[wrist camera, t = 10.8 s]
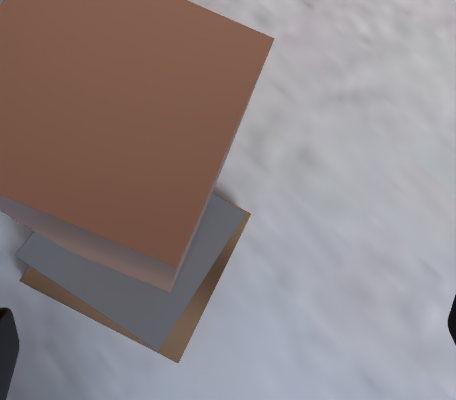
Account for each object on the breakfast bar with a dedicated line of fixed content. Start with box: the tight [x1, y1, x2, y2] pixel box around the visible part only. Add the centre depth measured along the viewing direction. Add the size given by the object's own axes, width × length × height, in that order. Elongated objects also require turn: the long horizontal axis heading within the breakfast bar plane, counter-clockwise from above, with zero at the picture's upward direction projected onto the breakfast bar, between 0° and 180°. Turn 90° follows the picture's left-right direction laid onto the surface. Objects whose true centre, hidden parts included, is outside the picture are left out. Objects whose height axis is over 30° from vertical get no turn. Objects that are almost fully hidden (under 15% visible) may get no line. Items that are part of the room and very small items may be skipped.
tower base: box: [20, 199, 251, 363], centre depth 22 cm, size 8×8×2 cm
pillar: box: [0, 0, 274, 293], centre depth 13 cm, size 4×4×12 cm
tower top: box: [15, 193, 245, 351], centre depth 20 cm, size 7×7×2 cm
